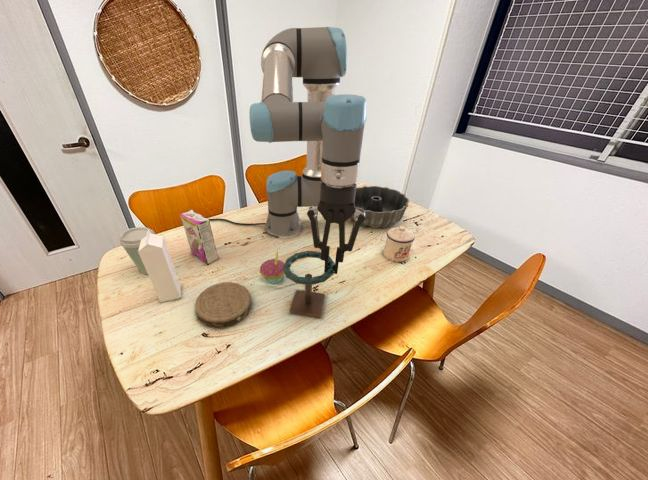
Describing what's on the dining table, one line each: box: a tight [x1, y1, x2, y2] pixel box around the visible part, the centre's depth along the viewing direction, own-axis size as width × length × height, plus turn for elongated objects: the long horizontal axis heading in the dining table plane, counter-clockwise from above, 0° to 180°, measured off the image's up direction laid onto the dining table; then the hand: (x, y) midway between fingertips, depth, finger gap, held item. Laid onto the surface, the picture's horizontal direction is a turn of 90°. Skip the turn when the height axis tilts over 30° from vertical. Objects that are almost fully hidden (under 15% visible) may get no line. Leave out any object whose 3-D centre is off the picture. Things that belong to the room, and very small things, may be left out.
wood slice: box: [194, 281, 252, 329], centre depth 81 cm, size 16×16×3 cm
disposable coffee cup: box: [118, 226, 156, 275], centre depth 93 cm, size 11×11×15 cm
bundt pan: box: [349, 185, 410, 229], centre depth 120 cm, size 26×26×10 cm
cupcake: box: [259, 251, 286, 285], centre depth 88 cm, size 9×8×12 cm
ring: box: [283, 250, 335, 286], centre depth 73 cm, size 14×14×2 cm
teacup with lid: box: [383, 225, 416, 263], centre depth 98 cm, size 12×9×12 cm
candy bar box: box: [179, 209, 219, 265], centre depth 98 cm, size 11×5×16 cm, turn 47°
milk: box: [138, 228, 182, 303], centre depth 80 cm, size 6×6×22 cm
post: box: [289, 273, 326, 319], centre depth 79 cm, size 9×9×11 cm
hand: (331, 270), depth 72 cm, fingers closed on ring, 2 cm apart
